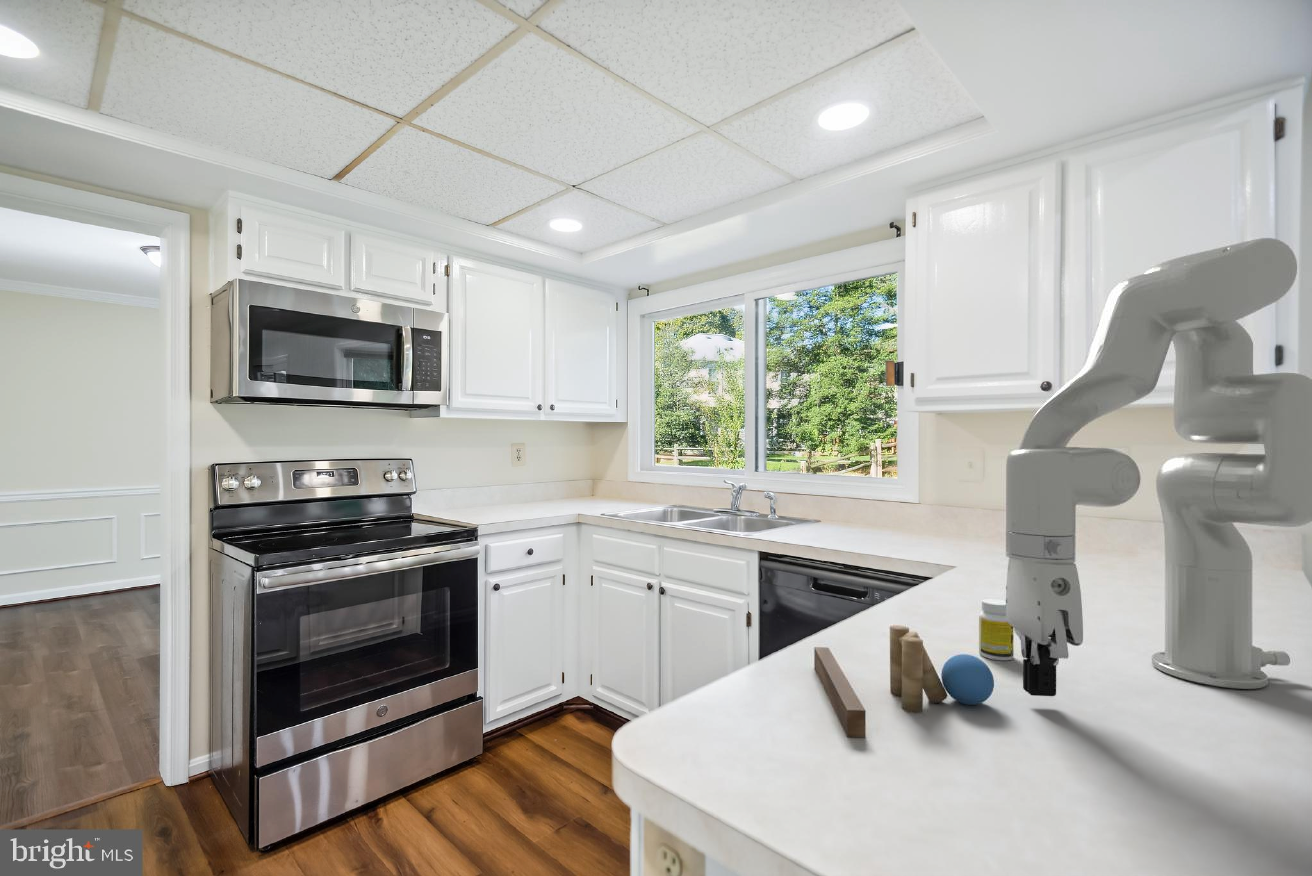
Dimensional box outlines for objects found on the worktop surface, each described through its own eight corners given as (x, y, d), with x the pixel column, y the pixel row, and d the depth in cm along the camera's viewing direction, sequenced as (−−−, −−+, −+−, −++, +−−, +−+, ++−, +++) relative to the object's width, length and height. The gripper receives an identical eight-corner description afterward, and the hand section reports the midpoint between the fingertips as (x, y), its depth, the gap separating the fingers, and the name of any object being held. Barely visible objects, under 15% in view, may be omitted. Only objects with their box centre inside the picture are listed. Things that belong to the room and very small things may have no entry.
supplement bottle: (1018, 662, 96) (1018, 606, 96) (984, 660, 97) (984, 604, 97) (1007, 652, 101) (1007, 598, 101) (975, 650, 102) (975, 597, 102)
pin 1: (906, 689, 85) (905, 625, 85) (912, 696, 83) (911, 630, 83) (888, 689, 85) (887, 625, 85) (893, 696, 83) (892, 630, 83)
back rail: (828, 668, 93) (828, 647, 93) (865, 737, 71) (865, 710, 71) (814, 667, 93) (814, 647, 93) (847, 736, 71) (847, 709, 71)
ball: (926, 659, 84) (946, 701, 84) (943, 675, 78) (965, 720, 78) (969, 640, 84) (989, 683, 83) (989, 655, 78) (1011, 701, 77)
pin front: (943, 690, 82) (913, 629, 83) (950, 697, 80) (919, 635, 80) (926, 697, 82) (896, 637, 83) (932, 705, 80) (902, 642, 80)
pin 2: (919, 705, 80) (919, 637, 80) (925, 713, 78) (925, 643, 78) (899, 704, 80) (899, 636, 80) (905, 712, 78) (905, 642, 78)
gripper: (1108, 558, 72) (1108, 720, 72) (1040, 538, 87) (1039, 673, 87) (1039, 556, 73) (1039, 717, 73) (983, 537, 88) (982, 671, 88)
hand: (1039, 693), depth 80 cm, fingers closed
